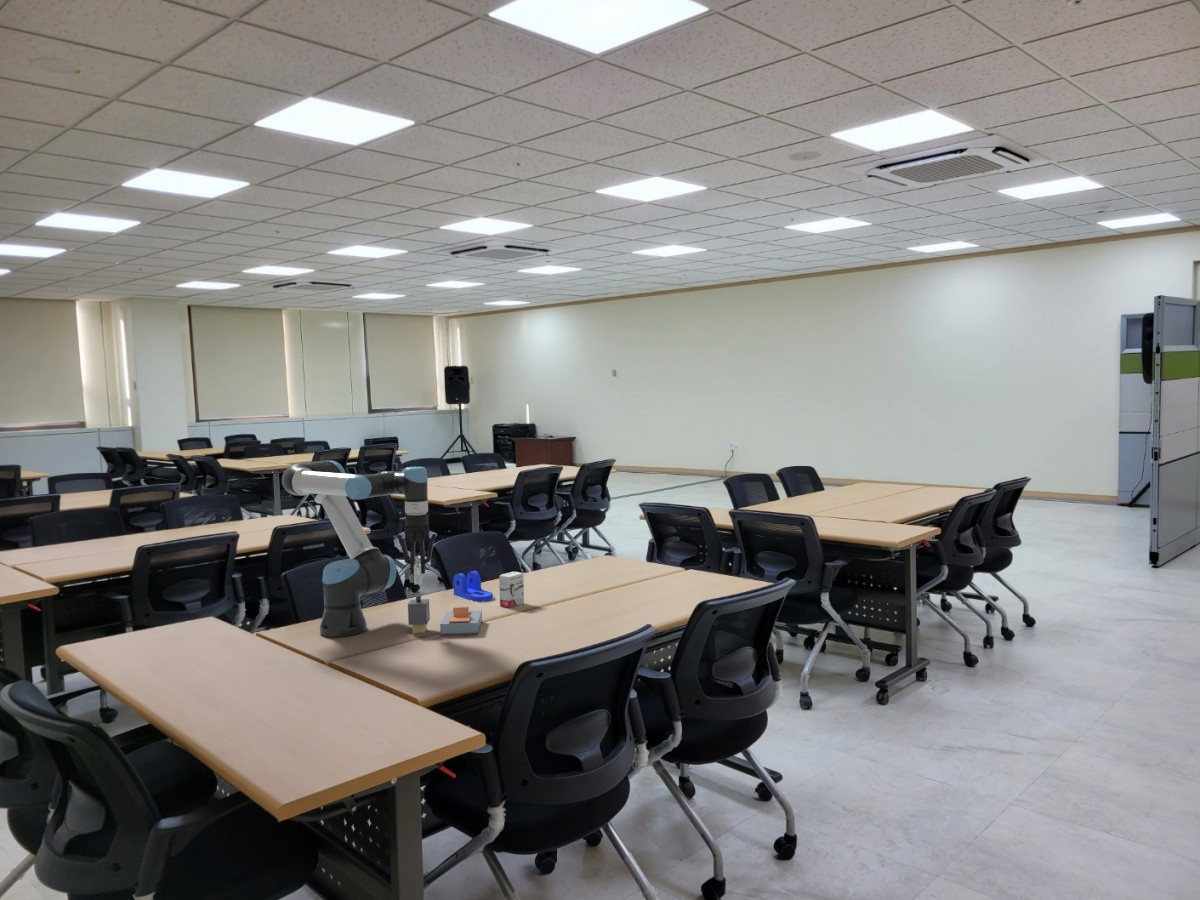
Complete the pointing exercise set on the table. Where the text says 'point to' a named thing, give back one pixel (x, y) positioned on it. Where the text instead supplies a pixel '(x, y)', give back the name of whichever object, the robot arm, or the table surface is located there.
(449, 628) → the socket
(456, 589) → the bracket
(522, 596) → the ink box
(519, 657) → the table surface
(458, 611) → the shutter
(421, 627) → the plug
